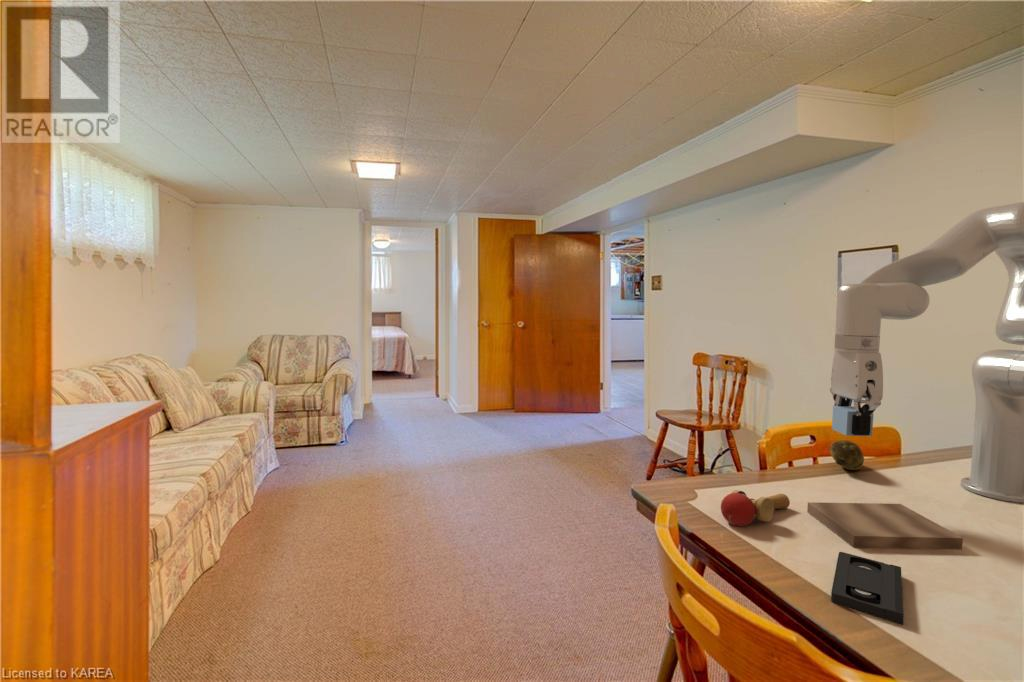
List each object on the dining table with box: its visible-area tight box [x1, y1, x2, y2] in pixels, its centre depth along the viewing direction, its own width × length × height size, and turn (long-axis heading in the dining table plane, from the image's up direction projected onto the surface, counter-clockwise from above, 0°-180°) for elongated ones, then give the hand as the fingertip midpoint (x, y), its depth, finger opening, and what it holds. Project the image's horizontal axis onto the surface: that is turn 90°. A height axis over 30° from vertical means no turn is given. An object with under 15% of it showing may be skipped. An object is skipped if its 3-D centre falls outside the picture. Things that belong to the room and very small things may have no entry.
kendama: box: [720, 489, 791, 527], centre depth 95 cm, size 8×6×18 cm
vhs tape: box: [830, 551, 904, 626], centre depth 71 cm, size 14×8×2 cm, turn 142°
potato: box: [829, 439, 865, 471], centre depth 121 cm, size 8×13×8 cm, turn 127°
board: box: [807, 501, 964, 550], centre depth 89 cm, size 18×14×2 cm
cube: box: [831, 405, 874, 437], centre depth 100 cm, size 5×5×5 cm
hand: (851, 430), depth 100 cm, fingers closed on cube, 5 cm apart
